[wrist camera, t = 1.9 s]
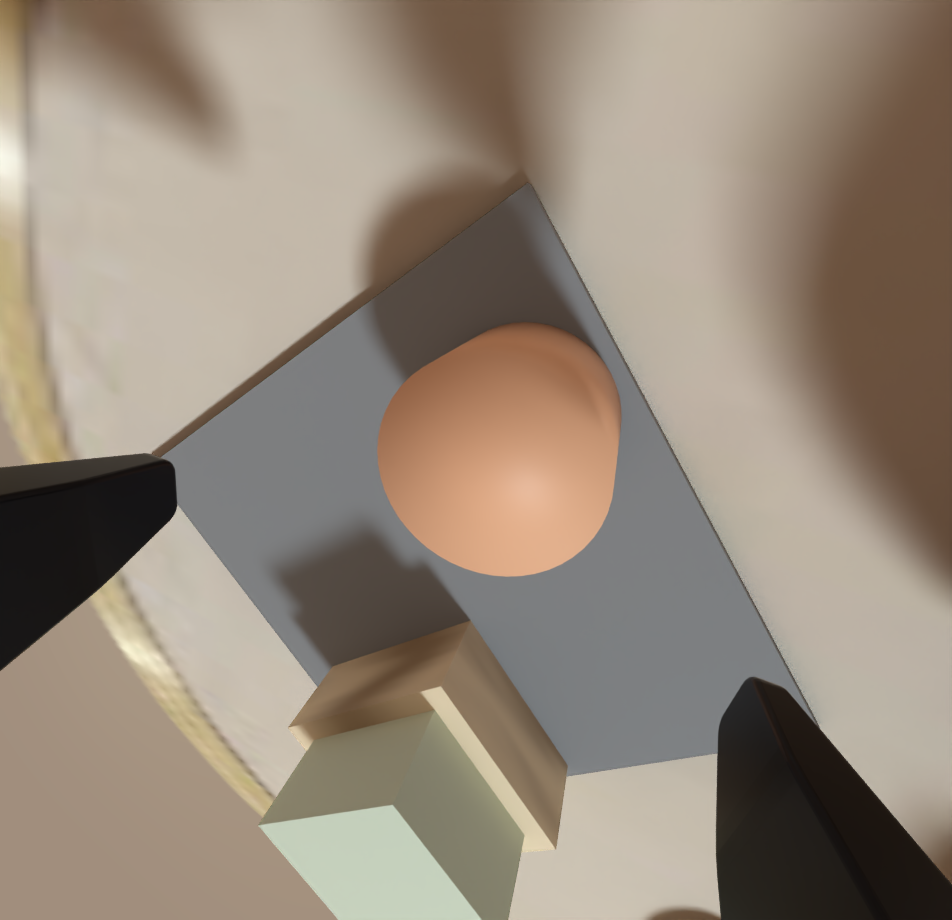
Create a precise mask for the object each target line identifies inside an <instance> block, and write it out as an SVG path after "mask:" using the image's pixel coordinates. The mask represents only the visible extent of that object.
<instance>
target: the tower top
mask: <svg viewBox="0 0 952 920" xmlns="http://www.w3.org/2000/svg"><path fill="white" fill-rule="evenodd" d="M258 826H259V827H260V828H261V829H262V830H263V832H264V833H265V834H266V835H267V836H268V838H269V839H270V840H271V841H272V842H273V843H274V845H275V846H276V847H277V848H278V849H279V851H280V852H281V853H282V854H283V855H284V856H285V858H287V860H288V861H289V862H290V863H291V864H292V866H293V867H294V868H295V869H296V870H297V872H298V873H299V874H300V875H301V876H302V877H303V878H304V880H305V881H306V882H307V883H308V884H309V886H310V887H311V888H312V889H313V890H314V892H315V893H316V894H317V895H318V896H319V897H320V898H321V900H322V901H323V902H324V903H325V904H326V905H327V907H328V908H329V909H330V910H331V911H332V912H333V914H334V915H335V916H336V917H337V918H338V920H508V917H509V912H510V907H511V902H512V897H513V892H514V887H515V882H516V877H517V872H518V867H519V861H520V856H521V851H522V846H523V841H524V836H525V835H524V834H523V832H522V831H521V829H520V828H519V827H518V825H517V824H516V822H515V821H514V820H513V818H512V817H511V815H510V814H509V813H508V811H507V810H506V808H505V807H504V806H503V804H502V803H501V802H500V800H499V799H498V797H497V796H496V795H495V793H494V792H493V790H492V789H491V788H490V786H489V785H488V783H487V782H486V781H485V779H484V778H483V776H482V775H481V774H480V772H479V771H478V769H477V768H476V767H475V765H474V764H473V762H472V761H471V760H470V758H469V757H468V756H467V754H466V753H465V751H464V750H463V749H462V747H461V746H460V744H459V743H458V742H457V740H456V739H455V737H454V736H453V735H452V733H451V732H450V730H449V729H448V728H447V726H446V725H445V723H444V722H443V721H442V719H441V718H440V716H439V715H438V714H437V712H436V711H435V710H432V711H428V712H424V713H420V714H416V715H412V716H408V717H404V718H400V719H396V720H392V721H388V722H384V723H380V724H376V725H372V726H368V727H364V728H360V729H356V730H352V731H348V732H344V733H340V734H336V735H332V736H328V737H324V738H320V739H316V740H314V741H313V742H312V744H311V746H310V747H309V749H308V750H307V752H306V753H305V755H304V756H303V758H302V759H301V761H300V762H299V764H298V765H297V767H296V768H295V770H294V771H293V773H292V774H291V776H290V777H289V779H288V781H287V782H286V784H285V785H284V787H283V788H282V790H281V791H280V793H279V794H278V796H277V797H276V799H275V800H274V802H273V803H272V805H271V806H270V808H269V809H268V811H267V812H266V814H265V816H264V817H263V819H262V820H261V822H260V823H259V825H258Z"/></svg>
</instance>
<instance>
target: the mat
mask: <svg viewBox="0 0 952 920" xmlns="http://www.w3.org/2000/svg"><path fill="white" fill-rule="evenodd" d="M519 322H533V323H541V324H546V325H551V326H554V327H557V328H560V329H563V330H565V331H567V332H569V333H571V334H573V335H575V336H576V337H578V338H579V339H581V340H582V341H583V342H585V343H586V344H587V345H588V346H589V347H591V348H592V349H593V350H594V351H595V352H596V353H597V354H598V356H599V357H600V358H601V359H602V360H603V361H604V363H605V364H606V366H607V368H608V369H609V371H610V372H611V374H612V377H613V379H614V381H615V383H616V386H617V389H618V393H619V396H620V402H621V414H622V421H621V430H620V439H619V447H618V456H617V464H616V473H615V481H614V489H613V496H612V501H611V504H610V507H609V511H608V514H607V516H606V518H605V520H604V522H603V524H602V526H601V528H600V529H599V531H598V532H597V534H596V535H595V537H594V538H593V539H592V540H591V541H590V542H589V543H588V545H587V546H586V547H585V548H584V549H583V550H581V551H580V552H579V553H578V554H576V555H575V556H574V557H573V558H571V559H569V560H568V561H566V562H564V563H563V564H561V565H559V566H556V567H554V568H552V569H550V570H547V571H543V572H540V573H536V574H531V575H525V576H510V577H505V576H493V575H487V574H482V573H477V572H474V571H471V570H468V569H464V568H462V567H460V566H457V565H455V564H453V563H451V562H449V561H447V560H445V559H443V558H442V557H440V556H438V555H437V554H435V553H434V552H433V551H431V550H430V549H428V548H427V547H426V546H425V545H423V544H422V543H421V542H420V541H419V540H418V539H417V538H416V537H415V536H414V535H413V534H412V533H411V532H410V531H409V530H408V529H407V528H406V526H405V525H404V524H403V522H402V521H401V520H400V518H399V517H398V516H397V514H396V512H395V511H394V509H393V507H392V506H391V504H390V502H389V499H388V497H387V495H386V493H385V490H384V487H383V484H382V481H381V477H380V472H379V467H378V455H377V447H378V435H379V430H380V425H381V422H382V419H383V416H384V413H385V411H386V409H387V407H388V405H389V403H390V401H391V399H392V397H393V396H394V395H395V393H396V392H397V391H398V389H399V388H400V387H401V385H402V384H403V383H404V382H405V381H406V380H407V379H408V378H409V377H410V376H412V375H413V374H414V373H416V372H417V371H418V370H420V369H421V368H422V367H424V366H426V365H428V364H429V363H431V362H433V361H434V360H436V359H438V358H440V357H441V356H443V355H445V354H447V353H448V352H450V351H452V350H454V349H455V348H457V347H459V346H461V345H462V344H464V343H466V342H468V341H469V340H471V339H473V338H475V337H476V336H478V335H480V334H482V333H484V332H486V331H487V330H490V329H492V328H495V327H498V326H501V325H505V324H510V323H519ZM161 458H163V459H166V460H168V461H170V462H171V463H172V464H173V466H174V468H175V472H176V488H177V504H178V505H179V507H180V508H181V509H182V511H183V512H184V513H185V515H186V516H187V517H188V518H189V520H190V521H191V522H192V524H193V525H194V526H195V528H196V529H197V530H198V532H199V533H200V534H201V535H202V537H203V538H204V539H205V541H206V542H207V543H208V545H209V546H210V547H211V549H212V550H213V551H214V552H215V554H216V555H217V556H218V558H219V559H220V560H221V562H222V563H223V564H224V565H225V567H226V568H227V569H228V571H229V572H230V573H231V575H232V576H233V577H234V579H235V580H236V581H237V582H238V584H239V585H240V586H241V588H242V589H243V590H244V592H245V593H246V594H247V595H248V597H249V598H250V599H251V601H252V602H253V603H254V605H255V606H256V607H257V609H258V610H259V611H260V612H261V614H262V615H263V616H264V618H265V619H266V620H267V622H268V623H269V624H270V625H271V627H272V628H273V629H274V631H275V632H276V633H277V635H278V636H279V637H280V639H281V640H282V641H283V642H284V644H285V645H286V646H287V648H288V649H289V650H290V652H291V653H292V654H293V655H294V657H295V658H296V659H297V661H298V662H299V663H300V665H301V666H302V667H303V669H304V670H305V671H306V672H307V674H308V675H309V676H310V678H311V679H312V680H313V682H314V683H315V684H316V685H317V687H318V686H319V684H320V683H321V682H322V680H323V679H324V678H325V676H326V675H327V673H328V672H329V671H330V669H331V668H332V667H333V666H335V665H338V664H341V663H344V662H347V661H350V660H353V659H356V658H359V657H362V656H365V655H368V654H371V653H374V652H377V651H380V650H383V649H386V648H389V647H392V646H395V645H398V644H401V643H404V642H407V641H410V640H413V639H416V638H419V637H422V636H425V635H428V634H431V633H434V632H437V631H440V630H443V629H446V628H449V627H452V626H455V625H458V624H461V623H464V622H467V621H470V620H471V622H472V623H473V625H474V626H475V628H476V629H477V631H478V632H479V634H480V635H481V637H482V638H483V640H484V641H485V643H486V644H487V646H488V647H489V649H490V650H491V652H492V653H493V655H494V656H495V658H496V659H497V661H498V662H499V664H500V665H501V667H502V668H503V670H504V671H505V673H506V674H507V675H508V677H509V678H510V680H511V681H512V683H513V684H514V686H515V687H516V689H517V690H518V692H519V693H520V695H521V696H522V698H523V699H524V701H525V702H526V704H527V705H528V707H529V708H530V710H531V711H532V713H533V714H534V716H535V717H536V719H537V720H538V722H539V723H540V725H541V726H542V728H543V729H544V731H545V732H546V734H547V735H548V737H549V738H550V740H551V741H552V743H553V744H554V746H555V747H556V749H557V750H558V752H559V753H560V755H561V756H562V758H563V759H564V761H565V762H566V764H567V765H568V768H567V776H573V775H579V774H586V773H592V772H599V771H605V770H612V769H618V768H625V767H631V766H638V765H644V764H651V763H657V762H664V761H670V760H677V759H683V758H690V757H696V756H703V755H709V754H716V753H718V729H719V724H720V721H721V718H722V716H723V714H724V712H725V711H726V709H727V708H728V706H729V704H730V703H731V701H732V700H733V698H734V696H735V695H736V693H737V692H738V690H739V688H740V687H741V685H742V684H743V682H744V681H745V680H746V679H747V678H749V677H758V678H761V679H764V680H766V681H769V682H772V683H774V684H777V685H780V686H782V687H784V688H785V689H786V690H787V691H788V692H789V693H790V694H791V695H792V697H793V698H794V699H795V700H796V701H797V702H798V704H799V705H800V706H801V707H802V708H803V710H804V711H805V712H806V713H807V714H808V715H809V717H810V718H811V719H812V720H813V721H814V723H815V724H816V725H817V726H818V727H819V725H818V723H817V721H816V720H815V718H814V716H813V714H812V712H811V710H810V708H809V706H808V704H807V703H806V701H805V699H804V697H803V695H802V693H801V691H800V689H799V688H798V686H797V684H796V682H795V680H794V678H793V676H792V674H791V672H790V671H789V669H788V667H787V665H786V663H785V661H784V659H783V657H782V656H781V654H780V652H779V650H778V648H777V646H776V644H775V642H774V640H773V639H772V637H771V635H770V633H769V631H768V629H767V627H766V625H765V624H764V622H763V620H762V618H761V616H760V614H759V612H758V610H757V608H756V607H755V605H754V603H753V601H752V599H751V597H750V595H749V593H748V592H747V590H746V588H745V586H744V584H743V582H742V580H741V578H740V576H739V575H738V573H737V571H736V569H735V567H734V565H733V563H732V561H731V560H730V558H729V556H728V554H727V552H726V550H725V548H724V546H723V545H722V543H721V541H720V539H719V537H718V535H717V533H716V531H715V529H714V528H713V526H712V524H711V522H710V520H709V518H708V516H707V514H706V513H705V511H704V509H703V507H702V505H701V503H700V501H699V499H698V497H697V496H696V494H695V492H694V490H693V488H692V486H691V484H690V482H689V481H688V479H687V477H686V475H685V473H684V471H683V469H682V467H681V465H680V464H679V462H678V460H677V458H676V456H675V454H674V452H673V450H672V449H671V447H670V445H669V443H668V441H667V439H666V437H665V435H664V433H663V432H662V430H661V428H660V426H659V424H658V422H657V420H656V418H655V417H654V415H653V413H652V411H651V409H650V407H649V405H648V403H647V402H646V400H645V398H644V396H643V394H642V392H641V390H640V388H639V386H638V385H637V383H636V381H635V379H634V377H633V375H632V373H631V371H630V370H629V368H628V366H627V364H626V362H625V360H624V358H623V356H622V354H621V353H620V351H619V349H618V347H617V345H616V343H615V341H614V339H613V338H612V336H611V334H610V332H609V330H608V328H607V326H606V324H605V322H604V321H603V319H602V317H601V315H600V313H599V311H598V309H597V307H596V306H595V304H594V302H593V300H592V298H591V296H590V294H589V292H588V290H587V289H586V287H585V285H584V283H583V281H582V279H581V277H580V275H579V274H578V272H577V270H576V268H575V266H574V264H573V262H572V260H571V258H570V257H569V255H568V253H567V251H566V249H565V247H564V245H563V243H562V242H561V240H560V238H559V236H558V234H557V232H556V230H555V228H554V227H553V225H552V223H551V221H550V219H549V217H548V215H547V213H546V211H545V210H544V208H543V206H542V204H541V202H540V200H539V198H538V196H537V195H536V193H535V191H534V189H533V187H532V185H531V184H529V183H527V184H526V185H524V186H523V187H522V188H520V189H519V190H518V191H516V192H515V193H514V194H512V195H511V196H510V197H508V198H507V199H506V200H504V201H503V202H501V203H500V204H499V205H497V206H496V207H495V208H493V209H492V210H491V211H489V212H488V213H487V214H485V215H484V216H483V217H481V218H480V219H479V220H477V221H476V222H475V223H473V224H472V225H471V226H469V227H468V228H467V229H465V230H464V231H463V232H461V233H460V234H459V235H457V236H456V237H455V238H453V239H452V240H451V241H449V242H448V243H447V244H445V245H444V246H443V247H441V248H440V249H439V250H437V251H436V252H435V253H433V254H432V255H431V256H429V257H428V258H427V259H425V260H424V261H423V262H421V263H420V264H419V265H417V266H416V267H415V268H413V269H412V270H411V271H409V272H408V273H407V274H405V275H404V276H403V277H401V278H400V279H398V280H397V281H396V282H394V283H393V284H392V285H390V286H389V287H388V288H386V289H385V290H384V291H382V292H381V293H380V294H378V295H377V296H376V297H374V298H373V299H372V300H370V301H369V302H368V303H366V304H365V305H364V306H362V307H361V308H360V309H358V310H357V311H356V312H354V313H353V314H352V315H350V316H349V317H348V318H346V319H345V320H344V321H342V322H341V323H340V324H338V325H337V326H336V327H334V328H333V329H332V330H330V331H329V332H328V333H326V334H325V335H324V336H322V337H321V338H320V339H318V340H317V341H316V342H314V343H313V344H312V345H310V346H309V347H308V348H306V349H305V350H304V351H302V352H301V353H300V354H298V355H297V356H295V357H294V358H293V359H291V360H290V361H289V362H287V363H286V364H285V365H283V366H282V367H281V368H279V369H278V370H277V371H275V372H274V373H273V374H271V375H270V376H269V377H267V378H266V379H265V380H263V381H262V382H261V383H259V384H258V385H257V386H255V387H254V388H253V389H251V390H250V391H249V392H247V393H246V394H245V395H243V396H242V397H241V398H239V399H238V400H237V401H235V402H234V403H233V404H231V405H230V406H229V407H227V408H226V409H225V410H223V411H222V412H221V413H219V414H218V415H217V416H215V417H214V418H213V419H211V420H210V421H209V422H207V423H206V424H205V425H203V426H202V427H201V428H199V429H198V430H197V431H195V432H194V433H192V434H191V435H190V436H188V437H187V438H186V439H184V440H183V441H182V442H180V443H179V444H178V445H176V446H175V447H174V448H172V449H171V450H170V451H168V452H167V453H166V454H164V455H163V456H162V457H161ZM819 728H820V727H819Z"/></svg>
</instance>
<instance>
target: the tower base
mask: <svg viewBox="0 0 952 920" xmlns="http://www.w3.org/2000/svg"><path fill="white" fill-rule="evenodd" d="M432 710H435V711H436V712H437V714H438V715H439V716H440V718H441V719H442V721H443V722H444V723H445V725H446V726H447V728H448V729H449V730H450V732H451V733H452V735H453V736H454V737H455V739H456V740H457V742H458V743H459V744H460V746H461V747H462V749H463V750H464V751H465V753H466V754H467V756H468V757H469V758H470V760H471V761H472V762H473V764H474V765H475V767H476V768H477V769H478V771H479V772H480V774H481V775H482V776H483V778H484V779H485V781H486V782H487V783H488V785H489V786H490V788H491V789H492V790H493V792H494V793H495V795H496V796H497V797H498V799H499V800H500V802H501V803H502V804H503V806H504V807H505V808H506V810H507V811H508V813H509V814H510V815H511V817H512V818H513V820H514V821H515V822H516V824H517V825H518V827H519V828H520V829H521V831H522V832H523V834H524V835H525V836H524V841H523V846H522V851H521V852H532V851H544V850H555V849H556V846H557V839H558V832H559V825H560V818H561V811H562V804H563V797H564V790H565V783H566V776H567V768H568V765H567V764H566V762H565V761H564V759H563V758H562V756H561V755H560V753H559V752H558V750H557V749H556V747H555V746H554V744H553V743H552V741H551V740H550V738H549V737H548V735H547V734H546V732H545V731H544V729H543V728H542V726H541V725H540V723H539V722H538V720H537V719H536V717H535V716H534V714H533V713H532V711H531V710H530V708H529V707H528V705H527V704H526V702H525V701H524V699H523V698H522V696H521V695H520V693H519V692H518V690H517V689H516V687H515V686H514V684H513V683H512V681H511V680H510V678H509V677H508V675H507V674H506V673H505V671H504V670H503V668H502V667H501V665H500V664H499V662H498V661H497V659H496V658H495V656H494V655H493V653H492V652H491V650H490V649H489V647H488V646H487V644H486V643H485V641H484V640H483V638H482V637H481V635H480V634H479V632H478V631H477V629H476V628H475V626H474V625H473V623H472V622H471V620H470V621H467V622H464V623H461V624H458V625H455V626H452V627H449V628H446V629H443V630H440V631H437V632H434V633H431V634H428V635H425V636H422V637H419V638H416V639H413V640H410V641H407V642H404V643H401V644H398V645H395V646H392V647H389V648H386V649H383V650H380V651H377V652H374V653H371V654H368V655H365V656H362V657H359V658H356V659H353V660H350V661H347V662H344V663H341V664H338V665H335V666H333V667H332V668H331V669H330V671H329V672H328V673H327V675H326V676H325V678H324V679H323V680H322V682H321V683H320V684H319V686H318V687H317V689H316V690H315V691H314V693H313V694H312V696H311V697H310V698H309V700H308V701H307V702H306V704H305V705H304V707H303V708H302V709H301V711H300V712H299V713H298V715H297V716H296V718H295V719H294V720H293V722H292V723H291V724H290V726H289V727H288V729H289V730H290V731H291V733H292V734H293V735H294V736H295V738H296V739H297V740H298V741H299V743H300V744H301V745H302V746H303V748H304V749H305V750H306V751H307V750H308V749H309V747H310V746H311V744H312V742H313V741H314V740H316V739H320V738H324V737H328V736H332V735H336V734H340V733H344V732H348V731H352V730H356V729H360V728H364V727H368V726H372V725H376V724H380V723H384V722H388V721H392V720H396V719H400V718H404V717H408V716H412V715H416V714H420V713H424V712H428V711H432Z"/></svg>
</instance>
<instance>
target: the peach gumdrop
mask: <svg viewBox="0 0 952 920" xmlns="http://www.w3.org/2000/svg"><path fill="white" fill-rule="evenodd" d="M621 421H622V414H621V402H620V396H619V393H618V389H617V386H616V383H615V381H614V379H613V377H612V374H611V372H610V371H609V369H608V368H607V366H606V364H605V363H604V361H603V360H602V359H601V358H600V357H599V356H598V354H597V353H596V352H595V351H594V350H593V349H592V348H591V347H589V346H588V345H587V344H586V343H585V342H583V341H582V340H581V339H579V338H578V337H576V336H575V335H573V334H571V333H569V332H567V331H565V330H563V329H560V328H557V327H554V326H551V325H546V324H541V323H533V322H519V323H510V324H505V325H501V326H498V327H495V328H492V329H490V330H487V331H486V332H484V333H482V334H480V335H478V336H476V337H475V338H473V339H471V340H469V341H468V342H466V343H464V344H462V345H461V346H459V347H457V348H455V349H454V350H452V351H450V352H448V353H447V354H445V355H443V356H441V357H440V358H438V359H436V360H434V361H433V362H431V363H429V364H428V365H426V366H424V367H422V368H421V369H420V370H418V371H417V372H416V373H414V374H413V375H412V376H410V377H409V378H408V379H407V380H406V381H405V382H404V383H403V384H402V385H401V387H400V388H399V389H398V391H397V392H396V393H395V395H394V396H393V397H392V399H391V401H390V403H389V405H388V407H387V409H386V411H385V413H384V416H383V419H382V422H381V425H380V430H379V435H378V447H377V455H378V467H379V472H380V477H381V481H382V484H383V487H384V490H385V493H386V495H387V497H388V499H389V502H390V504H391V506H392V507H393V509H394V511H395V512H396V514H397V516H398V517H399V518H400V520H401V521H402V522H403V524H404V525H405V526H406V528H407V529H408V530H409V531H410V532H411V533H412V534H413V535H414V536H415V537H416V538H417V539H418V540H419V541H420V542H421V543H422V544H423V545H425V546H426V547H427V548H428V549H430V550H431V551H433V552H434V553H435V554H437V555H438V556H440V557H442V558H443V559H445V560H447V561H449V562H451V563H453V564H455V565H457V566H460V567H462V568H464V569H468V570H471V571H474V572H477V573H482V574H487V575H493V576H505V577H510V576H525V575H531V574H536V573H540V572H543V571H547V570H550V569H552V568H554V567H556V566H559V565H561V564H563V563H564V562H566V561H568V560H569V559H571V558H573V557H574V556H575V555H576V554H578V553H579V552H580V551H581V550H583V549H584V548H585V547H586V546H587V545H588V543H589V542H590V541H591V540H592V539H593V538H594V537H595V535H596V534H597V532H598V531H599V529H600V528H601V526H602V524H603V522H604V520H605V518H606V516H607V514H608V511H609V507H610V504H611V501H612V496H613V489H614V481H615V473H616V464H617V456H618V447H619V439H620V430H621Z"/></svg>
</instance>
